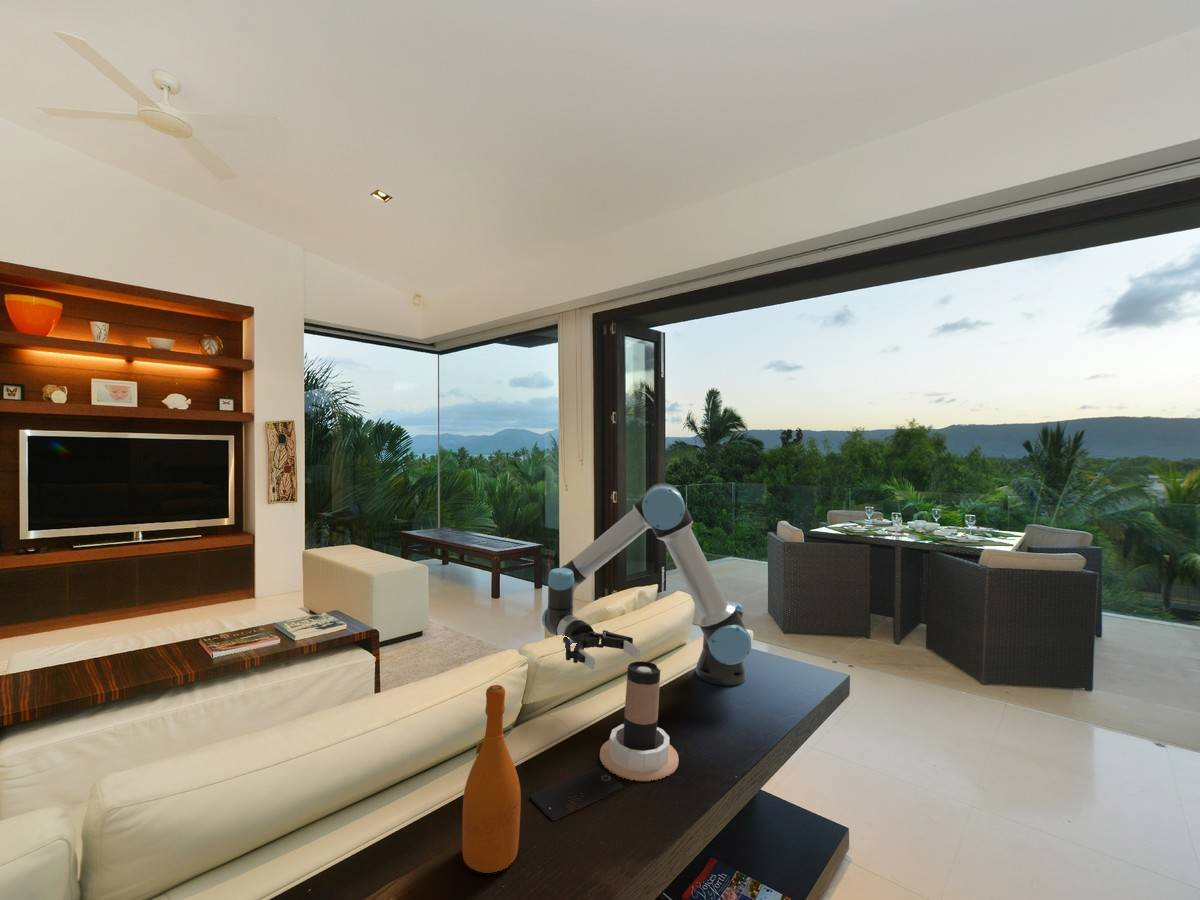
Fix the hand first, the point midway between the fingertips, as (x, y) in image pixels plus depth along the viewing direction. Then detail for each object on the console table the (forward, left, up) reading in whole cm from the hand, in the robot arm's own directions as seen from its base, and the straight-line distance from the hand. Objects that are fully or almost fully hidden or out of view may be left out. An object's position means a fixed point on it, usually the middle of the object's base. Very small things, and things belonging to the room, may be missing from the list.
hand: (616, 658), depth 146 cm
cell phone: (+3, +28, -18) cm, 33 cm away
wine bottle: (+14, +49, -18) cm, 54 cm away
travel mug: (-8, +12, -17) cm, 22 cm away
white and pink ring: (-8, +12, -18) cm, 23 cm away
